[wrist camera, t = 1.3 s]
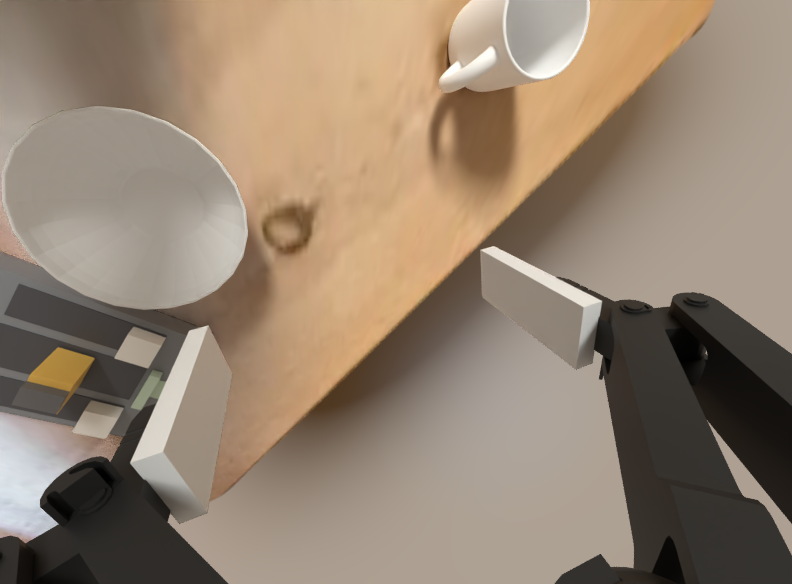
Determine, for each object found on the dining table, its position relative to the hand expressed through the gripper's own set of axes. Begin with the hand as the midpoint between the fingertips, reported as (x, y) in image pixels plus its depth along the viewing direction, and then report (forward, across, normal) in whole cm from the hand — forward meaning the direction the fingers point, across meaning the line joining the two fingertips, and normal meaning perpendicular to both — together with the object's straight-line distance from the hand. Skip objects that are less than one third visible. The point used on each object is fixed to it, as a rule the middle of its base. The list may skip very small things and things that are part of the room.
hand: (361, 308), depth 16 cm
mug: (+25, +20, +12) cm, 34 cm away
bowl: (+25, -14, +4) cm, 28 cm away
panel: (+24, -27, -9) cm, 38 cm away
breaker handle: (+22, -27, -9) cm, 36 cm away
